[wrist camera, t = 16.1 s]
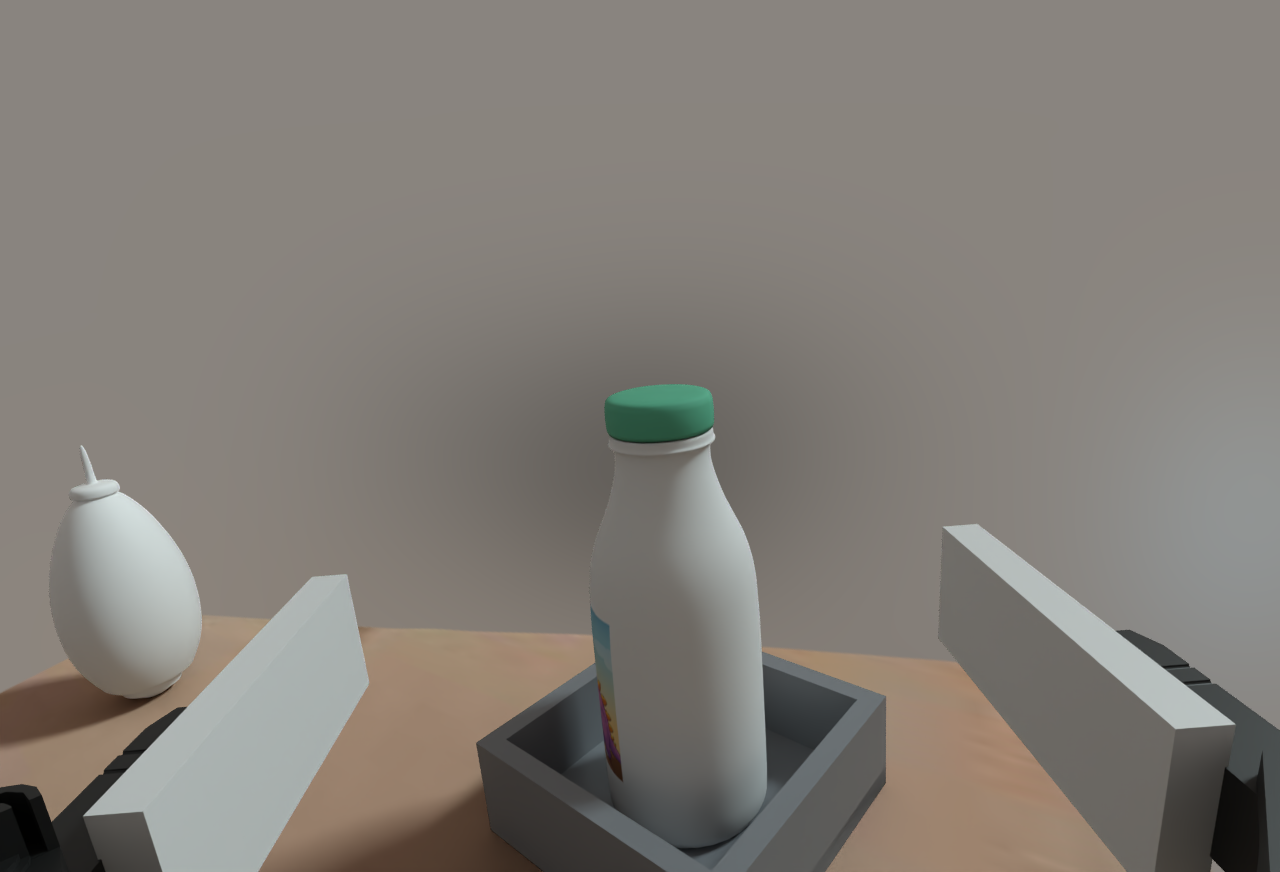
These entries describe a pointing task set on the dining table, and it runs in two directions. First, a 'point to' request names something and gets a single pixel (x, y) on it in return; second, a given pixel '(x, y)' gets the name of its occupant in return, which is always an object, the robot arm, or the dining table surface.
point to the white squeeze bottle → (121, 593)
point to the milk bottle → (676, 627)
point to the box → (638, 859)
